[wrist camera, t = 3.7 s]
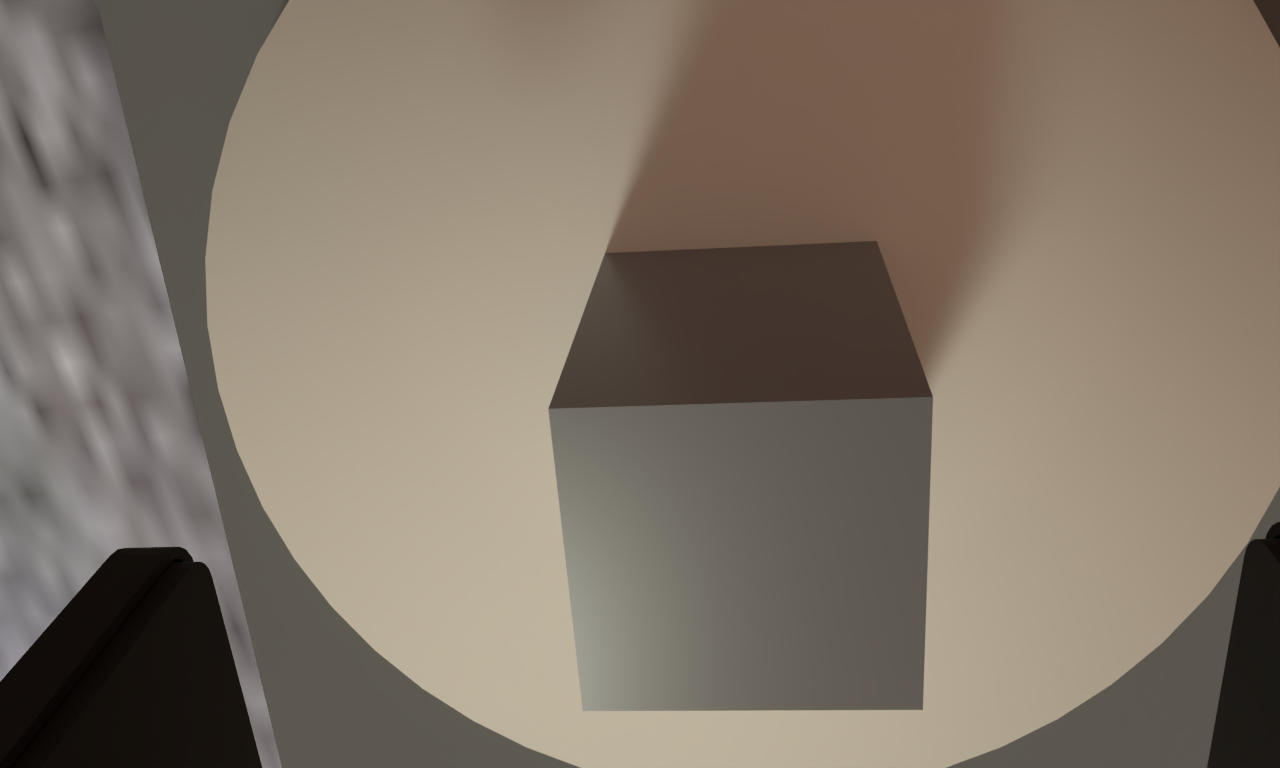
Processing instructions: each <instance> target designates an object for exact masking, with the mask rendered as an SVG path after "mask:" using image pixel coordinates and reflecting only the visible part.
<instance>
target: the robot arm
mask: <svg viewBox="0 0 1280 768" xmlns="http://www.w3.org/2000/svg"><path fill="white" fill-rule="evenodd" d="M0 768H262V766H261V762H260V758H259V754H258V750H257V747H256V743H255V739H254V735H253V731H252V727H251V724H250V720H249V716H248V712H247V708H246V705H245V701H244V697H243V693H242V689H241V686H240V682H239V678H238V674H237V670H236V667H235V663H234V659H233V655H232V651H231V648H230V644H229V640H228V636H227V632H226V629H225V625H224V621H223V617H222V613H221V610H220V606H219V602H218V598H217V594H216V590H215V587H214V583H213V579H212V576H211V573H210V571H209V569H208V567H207V566H206V565H205V564H204V563H202V562H193V559H192V557H191V555H190V554H189V553H188V552H187V550H185V549H183V548H181V547H151V548H123V549H118V550H117V551H115V552H114V553H113V554H112V555H110V557H109V558H108V559H107V560H106V561H105V562H104V563H103V565H102V566H101V567H100V568H99V569H98V570H97V571H96V573H95V574H94V575H93V576H92V577H91V578H90V579H89V581H88V582H87V583H86V584H85V585H84V586H83V588H82V589H81V590H80V591H79V592H78V593H77V594H76V596H75V597H74V598H73V599H72V600H71V601H70V602H69V604H68V605H67V606H66V607H65V608H64V609H63V610H62V612H61V613H60V614H59V615H58V616H57V617H56V619H55V620H54V621H53V622H52V623H51V624H50V625H49V627H48V628H47V629H46V630H45V631H44V632H43V633H42V635H41V636H40V637H39V638H38V639H37V640H36V641H35V643H34V644H33V645H32V646H31V647H30V648H29V650H28V651H27V652H26V653H25V654H24V655H23V656H22V658H21V659H20V660H19V661H18V662H17V663H16V664H15V666H14V667H13V668H12V669H11V670H10V671H9V672H8V674H7V675H6V676H5V677H4V678H3V679H2V681H1V682H0ZM1207 768H1280V522H1277V523H1275V524H1274V525H1272V526H1271V528H1270V529H1269V531H1268V532H1267V534H1266V538H1265V539H1254V540H1252V541H1251V542H1250V543H1249V544H1248V546H1247V548H1246V551H1245V555H1244V560H1243V566H1242V571H1241V577H1240V583H1239V588H1238V594H1237V600H1236V605H1235V611H1234V617H1233V622H1232V628H1231V634H1230V640H1229V645H1228V651H1227V657H1226V662H1225V668H1224V674H1223V679H1222V685H1221V691H1220V696H1219V702H1218V708H1217V713H1216V719H1215V725H1214V731H1213V736H1212V742H1211V748H1210V753H1209V759H1208V765H1207Z"/></svg>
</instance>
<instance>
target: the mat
mask: <svg viewBox="0 0 1280 768" xmlns="http://www.w3.org/2000/svg"><path fill="white" fill-rule="evenodd" d="M288 1H289V0H97V4H98V8H99V12H100V16H101V20H102V24H103V28H104V33H105V37H106V41H107V45H108V49H109V53H110V57H111V62H112V66H113V70H114V74H115V78H116V82H117V86H118V91H119V95H120V99H121V103H122V107H123V111H124V115H125V119H126V124H127V128H128V132H129V136H130V140H131V144H132V148H133V153H134V157H135V161H136V165H137V169H138V173H139V177H140V181H141V186H142V190H143V194H144V198H145V202H146V206H147V210H148V215H149V219H150V223H151V227H152V231H153V235H154V239H155V244H156V248H157V252H158V256H159V260H160V264H161V268H162V272H163V277H164V281H165V285H166V289H167V293H168V297H169V301H170V306H171V310H172V314H173V318H174V322H175V326H176V330H177V334H178V339H179V343H180V347H181V351H182V355H183V359H184V363H185V368H186V372H187V376H188V380H189V384H190V388H191V392H192V397H193V401H194V405H195V409H196V413H197V417H198V421H199V425H200V430H201V434H202V438H203V442H204V446H205V450H206V454H207V459H208V463H209V467H210V471H211V475H212V479H213V483H214V487H215V492H216V496H217V500H218V504H219V508H220V512H221V516H222V521H223V525H224V529H225V533H226V537H227V541H228V545H229V550H230V554H231V558H232V562H233V566H234V570H235V574H236V578H237V583H238V587H239V591H240V595H241V599H242V603H243V607H244V612H245V616H246V620H247V624H248V628H249V632H250V636H251V640H252V645H253V649H254V653H255V657H256V661H257V665H258V669H259V674H260V678H261V682H262V686H263V690H264V694H265V698H266V703H267V707H268V711H269V715H270V719H271V723H272V727H273V731H274V736H275V740H276V744H277V748H278V752H279V756H280V760H281V765H282V768H580V767H577V766H575V765H572V764H569V763H567V762H564V761H561V760H559V759H556V758H553V757H551V756H548V755H545V754H543V753H540V752H537V751H535V750H532V749H529V748H527V747H525V746H523V745H521V744H519V743H517V742H515V741H513V740H511V739H509V738H507V737H505V736H503V735H501V734H499V733H497V732H494V731H492V730H490V729H488V728H486V727H484V726H482V725H480V724H478V723H476V722H474V721H472V720H471V719H469V718H468V717H466V716H465V715H463V714H462V713H460V712H458V711H457V710H455V709H454V708H452V707H451V706H449V705H447V704H446V703H444V702H443V701H441V700H440V699H438V698H436V697H435V696H433V695H432V694H430V693H429V692H427V691H425V690H424V689H422V688H421V687H420V686H419V685H417V684H416V683H415V682H414V681H412V680H411V679H410V678H409V677H407V676H406V675H405V674H404V673H402V672H401V671H400V670H399V669H397V668H396V667H395V666H394V665H392V664H391V663H390V662H389V661H387V660H386V659H385V658H384V657H382V656H381V655H380V654H379V653H378V652H376V651H375V650H374V649H373V648H372V647H371V646H370V645H369V644H368V643H367V642H366V641H365V640H364V639H363V638H362V637H361V636H360V635H359V634H358V633H357V632H356V631H355V630H354V629H353V628H352V627H351V626H350V625H349V624H348V623H347V622H346V621H345V620H344V619H343V618H342V617H341V616H340V615H339V614H338V613H337V612H336V611H335V610H334V609H333V608H332V606H331V605H330V604H329V603H328V601H327V600H326V599H325V597H324V596H323V595H322V594H321V592H320V591H319V590H318V589H317V587H316V586H315V585H314V584H313V582H312V581H311V580H310V578H309V577H308V576H307V575H306V573H305V572H304V571H303V570H302V568H301V567H300V566H299V564H298V563H297V562H296V561H295V559H294V558H293V556H292V554H291V553H290V551H289V549H288V548H287V546H286V545H285V543H284V541H283V540H282V538H281V536H280V535H279V533H278V531H277V530H276V528H275V526H274V525H273V523H272V522H271V520H270V518H269V517H268V515H267V513H266V512H265V510H264V508H263V507H262V505H261V502H260V500H259V498H258V496H257V493H256V491H255V489H254V487H253V485H252V482H251V480H250V478H249V476H248V474H247V471H246V469H245V467H244V465H243V463H242V460H241V458H240V456H239V454H238V451H237V449H236V446H235V442H234V439H233V436H232V433H231V429H230V426H229V423H228V420H227V416H226V413H225V410H224V407H223V403H222V400H221V397H220V394H219V390H218V385H217V379H216V373H215V367H214V361H213V356H212V350H211V344H210V338H209V332H208V326H207V299H206V268H205V256H206V246H207V237H208V227H209V218H210V208H211V199H212V190H213V186H214V182H215V178H216V174H217V170H218V166H219V162H220V158H221V154H222V150H223V146H224V142H225V138H226V134H227V130H228V126H229V122H230V120H231V117H232V115H233V112H234V110H235V108H236V105H237V103H238V100H239V98H240V95H241V93H242V90H243V88H244V86H245V83H246V81H247V78H248V76H249V73H250V71H251V68H252V66H253V64H254V61H255V59H256V56H257V54H258V52H259V51H260V49H261V47H262V46H263V44H264V42H265V40H266V39H267V37H268V35H269V34H270V32H271V30H272V29H273V27H274V25H275V23H276V22H277V20H278V18H279V17H280V15H281V13H282V12H283V10H284V8H285V6H286V5H287V3H288ZM1253 1H1254V3H1255V4H1256V6H1257V8H1258V10H1259V12H1260V13H1261V15H1262V17H1263V19H1264V21H1265V22H1266V24H1267V26H1268V28H1269V29H1270V31H1271V33H1272V35H1273V37H1274V38H1275V40H1276V42H1277V44H1278V46H1279V47H1280V0H1253ZM1277 522H1280V487H1279V489H1278V491H1277V492H1276V494H1275V496H1274V498H1273V499H1272V501H1271V503H1270V505H1269V506H1268V508H1267V510H1266V512H1265V513H1264V515H1263V517H1262V519H1261V520H1260V522H1259V524H1258V526H1257V528H1256V529H1255V531H1254V533H1253V535H1252V536H1251V538H1250V540H1249V542H1248V543H1247V545H1246V546H1245V547H1244V549H1243V550H1242V551H1241V553H1240V554H1239V555H1238V556H1237V558H1236V559H1235V560H1234V562H1233V563H1232V564H1231V566H1230V567H1229V568H1228V570H1227V571H1226V572H1225V574H1224V575H1223V576H1222V578H1221V579H1220V580H1219V582H1218V583H1217V584H1216V586H1215V587H1214V588H1213V590H1212V591H1211V592H1210V594H1209V595H1208V596H1207V597H1206V598H1205V599H1204V600H1203V601H1202V602H1201V604H1200V605H1199V606H1198V607H1197V608H1196V609H1195V610H1194V611H1193V612H1192V613H1191V614H1190V615H1189V616H1188V617H1187V618H1186V619H1185V620H1184V621H1183V622H1182V623H1181V624H1180V625H1179V626H1178V627H1177V628H1176V629H1175V630H1174V631H1173V632H1172V633H1171V635H1170V636H1169V637H1168V638H1167V639H1166V640H1165V641H1164V642H1163V643H1162V644H1161V645H1159V646H1158V647H1157V648H1156V649H1154V650H1153V651H1152V652H1151V653H1150V654H1148V655H1147V656H1146V657H1145V658H1143V659H1142V660H1141V661H1140V662H1139V663H1137V664H1136V665H1135V666H1134V667H1132V668H1131V669H1130V670H1129V671H1128V672H1126V673H1125V674H1124V675H1123V676H1121V677H1120V678H1119V679H1118V680H1116V681H1115V682H1114V683H1113V684H1112V685H1110V686H1108V687H1107V688H1105V689H1104V690H1102V691H1101V692H1099V693H1098V694H1096V695H1094V696H1093V697H1091V698H1090V699H1088V700H1087V701H1085V702H1084V703H1082V704H1080V705H1079V706H1077V707H1076V708H1074V709H1073V710H1071V711H1070V712H1068V713H1066V714H1065V715H1063V716H1062V717H1060V718H1059V719H1057V720H1055V721H1053V722H1051V723H1049V724H1047V725H1045V726H1043V727H1041V728H1039V729H1037V730H1035V731H1033V732H1031V733H1029V734H1027V735H1025V736H1023V737H1021V738H1019V739H1017V740H1015V741H1013V742H1011V743H1009V744H1007V745H1005V746H1003V747H1000V748H998V749H995V750H992V751H990V752H987V753H984V754H981V755H979V756H976V757H973V758H971V759H968V760H965V761H963V762H960V763H957V764H954V765H952V766H949V767H946V768H1207V765H1208V759H1209V753H1210V748H1211V742H1212V736H1213V731H1214V725H1215V719H1216V713H1217V708H1218V702H1219V696H1220V691H1221V685H1222V679H1223V674H1224V668H1225V662H1226V657H1227V651H1228V645H1229V640H1230V634H1231V628H1232V622H1233V617H1234V611H1235V605H1236V600H1237V594H1238V588H1239V583H1240V577H1241V571H1242V566H1243V560H1244V555H1245V551H1246V548H1247V546H1248V544H1249V543H1250V542H1251V541H1252V540H1254V539H1265V538H1266V534H1267V532H1268V531H1269V529H1270V528H1271V526H1272V525H1274V524H1275V523H1277Z"/></svg>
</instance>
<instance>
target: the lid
mask: <svg viewBox="0 0 1280 768" xmlns="http://www.w3.org/2000/svg"><path fill="white" fill-rule="evenodd" d="M205 268H206V299H207V326H208V332H209V338H210V344H211V350H212V356H213V361H214V367H215V373H216V379H217V385H218V390H219V394H220V397H221V400H222V403H223V407H224V410H225V413H226V416H227V420H228V423H229V426H230V429H231V433H232V436H233V439H234V442H235V446H236V449H237V451H238V454H239V456H240V458H241V460H242V463H243V465H244V467H245V469H246V471H247V474H248V476H249V478H250V480H251V482H252V485H253V487H254V489H255V491H256V493H257V496H258V498H259V500H260V502H261V505H262V507H263V508H264V510H265V512H266V513H267V515H268V517H269V518H270V520H271V522H272V523H273V525H274V526H275V528H276V530H277V531H278V533H279V535H280V536H281V538H282V540H283V541H284V543H285V545H286V546H287V548H288V549H289V551H290V553H291V554H292V556H293V558H294V559H295V561H296V562H297V563H298V564H299V566H300V567H301V568H302V570H303V571H304V572H305V573H306V575H307V576H308V577H309V578H310V580H311V581H312V582H313V584H314V585H315V586H316V587H317V589H318V590H319V591H320V592H321V594H322V595H323V596H324V597H325V599H326V600H327V601H328V603H329V604H330V605H331V606H332V608H333V609H334V610H335V611H336V612H337V613H338V614H339V615H340V616H341V617H342V618H343V619H344V620H345V621H346V622H347V623H348V624H349V625H350V626H351V627H352V628H353V629H354V630H355V631H356V632H357V633H358V634H359V635H360V636H361V637H362V638H363V639H364V640H365V641H366V642H367V643H368V644H369V645H370V646H371V647H372V648H373V649H374V650H375V651H376V652H378V653H379V654H380V655H381V656H382V657H384V658H385V659H386V660H387V661H389V662H390V663H391V664H392V665H394V666H395V667H396V668H397V669H399V670H400V671H401V672H402V673H404V674H405V675H406V676H407V677H409V678H410V679H411V680H412V681H414V682H415V683H416V684H417V685H419V686H420V687H421V688H422V689H424V690H425V691H427V692H429V693H430V694H432V695H433V696H435V697H436V698H438V699H440V700H441V701H443V702H444V703H446V704H447V705H449V706H451V707H452V708H454V709H455V710H457V711H458V712H460V713H462V714H463V715H465V716H466V717H468V718H469V719H471V720H472V721H474V722H476V723H478V724H480V725H482V726H484V727H486V728H488V729H490V730H492V731H494V732H497V733H499V734H501V735H503V736H505V737H507V738H509V739H511V740H513V741H515V742H517V743H519V744H521V745H523V746H525V747H527V748H529V749H532V750H535V751H537V752H540V753H543V754H545V755H548V756H551V757H553V758H556V759H559V760H561V761H564V762H567V763H569V764H572V765H575V766H577V767H580V768H946V767H949V766H952V765H954V764H957V763H960V762H963V761H965V760H968V759H971V758H973V757H976V756H979V755H981V754H984V753H987V752H990V751H992V750H995V749H998V748H1000V747H1003V746H1005V745H1007V744H1009V743H1011V742H1013V741H1015V740H1017V739H1019V738H1021V737H1023V736H1025V735H1027V734H1029V733H1031V732H1033V731H1035V730H1037V729H1039V728H1041V727H1043V726H1045V725H1047V724H1049V723H1051V722H1053V721H1055V720H1057V719H1059V718H1060V717H1062V716H1063V715H1065V714H1066V713H1068V712H1070V711H1071V710H1073V709H1074V708H1076V707H1077V706H1079V705H1080V704H1082V703H1084V702H1085V701H1087V700H1088V699H1090V698H1091V697H1093V696H1094V695H1096V694H1098V693H1099V692H1101V691H1102V690H1104V689H1105V688H1107V687H1108V686H1110V685H1112V684H1113V683H1114V682H1115V681H1116V680H1118V679H1119V678H1120V677H1121V676H1123V675H1124V674H1125V673H1126V672H1128V671H1129V670H1130V669H1131V668H1132V667H1134V666H1135V665H1136V664H1137V663H1139V662H1140V661H1141V660H1142V659H1143V658H1145V657H1146V656H1147V655H1148V654H1150V653H1151V652H1152V651H1153V650H1154V649H1156V648H1157V647H1158V646H1159V645H1161V644H1162V643H1163V642H1164V641H1165V640H1166V639H1167V638H1168V637H1169V636H1170V635H1171V633H1172V632H1173V631H1174V630H1175V629H1176V628H1177V627H1178V626H1179V625H1180V624H1181V623H1182V622H1183V621H1184V620H1185V619H1186V618H1187V617H1188V616H1189V615H1190V614H1191V613H1192V612H1193V611H1194V610H1195V609H1196V608H1197V607H1198V606H1199V605H1200V604H1201V602H1202V601H1203V600H1204V599H1205V598H1206V597H1207V596H1208V595H1209V594H1210V592H1211V591H1212V590H1213V588H1214V587H1215V586H1216V584H1217V583H1218V582H1219V580H1220V579H1221V578H1222V576H1223V575H1224V574H1225V572H1226V571H1227V570H1228V568H1229V567H1230V566H1231V564H1232V563H1233V562H1234V560H1235V559H1236V558H1237V556H1238V555H1239V554H1240V553H1241V551H1242V550H1243V549H1244V547H1245V546H1246V545H1247V543H1248V542H1249V540H1250V538H1251V536H1252V535H1253V533H1254V531H1255V529H1256V528H1257V526H1258V524H1259V522H1260V520H1261V519H1262V517H1263V515H1264V513H1265V512H1266V510H1267V508H1268V506H1269V505H1270V503H1271V501H1272V499H1273V498H1274V496H1275V494H1276V492H1277V491H1278V489H1279V487H1280V47H1279V46H1278V44H1277V42H1276V40H1275V38H1274V37H1273V35H1272V33H1271V31H1270V29H1269V28H1268V26H1267V24H1266V22H1265V21H1264V19H1263V17H1262V15H1261V13H1260V12H1259V10H1258V8H1257V6H1256V4H1255V3H1254V1H1253V0H289V1H288V3H287V5H286V6H285V8H284V10H283V12H282V13H281V15H280V17H279V18H278V20H277V22H276V23H275V25H274V27H273V29H272V30H271V32H270V34H269V35H268V37H267V39H266V40H265V42H264V44H263V46H262V47H261V49H260V51H259V52H258V54H257V56H256V59H255V61H254V64H253V66H252V68H251V71H250V73H249V76H248V78H247V81H246V83H245V86H244V88H243V90H242V93H241V95H240V98H239V100H238V103H237V105H236V108H235V110H234V112H233V115H232V117H231V120H230V122H229V126H228V130H227V134H226V138H225V142H224V146H223V150H222V154H221V158H220V162H219V166H218V170H217V174H216V178H215V182H214V186H213V190H212V199H211V208H210V218H209V227H208V237H207V246H206V256H205Z"/></svg>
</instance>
